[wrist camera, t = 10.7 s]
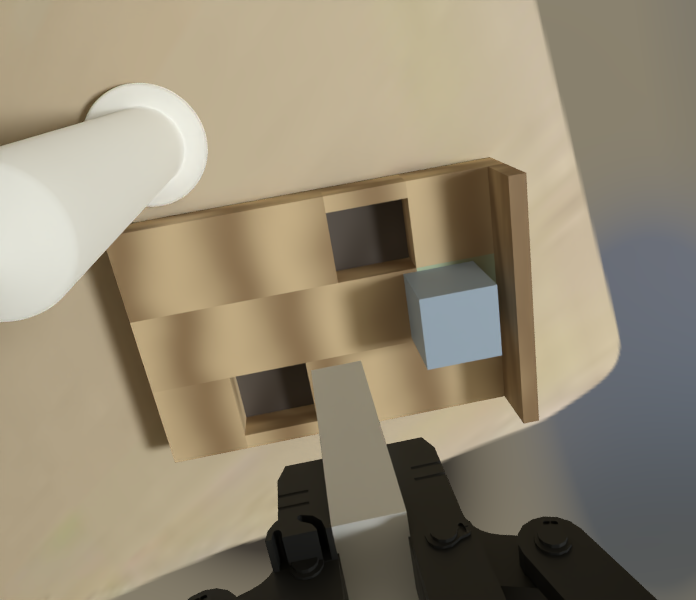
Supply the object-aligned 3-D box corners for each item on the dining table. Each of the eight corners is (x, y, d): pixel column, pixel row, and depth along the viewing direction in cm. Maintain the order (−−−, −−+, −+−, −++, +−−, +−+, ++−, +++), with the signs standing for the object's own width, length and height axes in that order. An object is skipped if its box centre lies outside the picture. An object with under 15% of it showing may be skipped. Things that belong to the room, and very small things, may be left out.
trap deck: (180, 441, 44) (166, 496, 38) (112, 226, 38) (84, 254, 32) (505, 376, 45) (538, 420, 39) (490, 157, 39) (526, 173, 33)
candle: (120, 221, 38) (-129, 470, 14) (61, 108, 35) (-356, 192, 12) (227, 180, 38) (148, 366, 14) (176, 64, 35) (-20, 60, 12)
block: (411, 338, 40) (427, 369, 36) (403, 274, 38) (419, 299, 34) (478, 325, 40) (502, 355, 36) (473, 260, 39) (497, 284, 34)
